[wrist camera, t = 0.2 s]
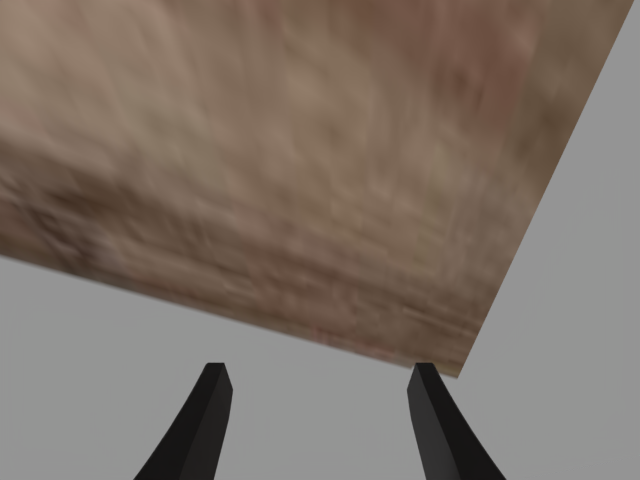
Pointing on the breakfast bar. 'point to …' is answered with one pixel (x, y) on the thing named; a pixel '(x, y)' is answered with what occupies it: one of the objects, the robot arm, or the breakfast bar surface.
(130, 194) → the breakfast bar surface
